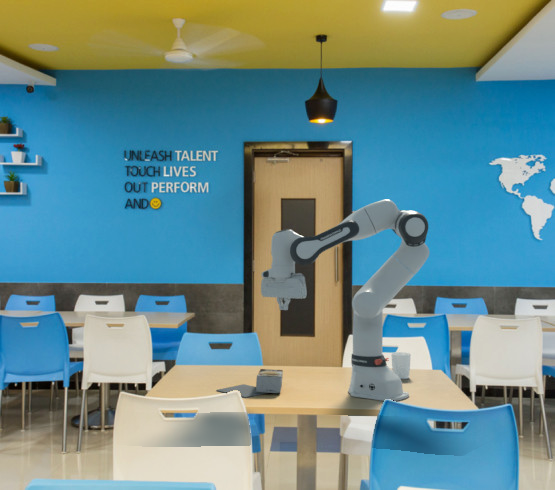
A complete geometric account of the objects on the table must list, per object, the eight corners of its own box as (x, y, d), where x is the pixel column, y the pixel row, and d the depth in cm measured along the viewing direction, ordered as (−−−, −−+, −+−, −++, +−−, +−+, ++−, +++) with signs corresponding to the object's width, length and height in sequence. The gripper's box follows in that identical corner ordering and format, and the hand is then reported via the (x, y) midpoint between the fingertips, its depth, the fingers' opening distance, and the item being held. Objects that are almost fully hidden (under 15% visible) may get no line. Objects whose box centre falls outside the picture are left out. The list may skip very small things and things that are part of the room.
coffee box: (256, 374, 214) (259, 368, 230) (255, 392, 213) (258, 384, 229) (281, 376, 213) (282, 369, 229) (280, 393, 213) (281, 386, 229)
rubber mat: (272, 391, 219) (272, 390, 219) (245, 398, 208) (245, 397, 208) (243, 385, 230) (243, 384, 230) (216, 390, 219) (216, 389, 220)
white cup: (391, 378, 243) (391, 354, 243) (391, 375, 251) (391, 351, 251) (410, 379, 241) (410, 355, 241) (410, 376, 249) (410, 352, 249)
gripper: (310, 272, 214) (310, 310, 214) (269, 272, 228) (269, 308, 228) (298, 273, 210) (299, 312, 209) (258, 273, 223) (258, 309, 223)
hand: (283, 309), depth 219 cm, fingers closed
